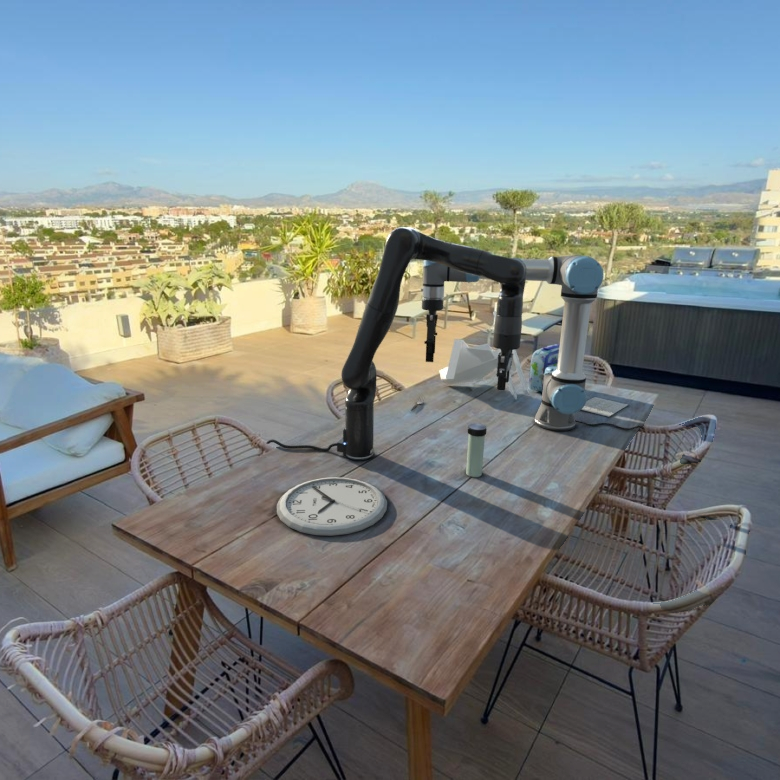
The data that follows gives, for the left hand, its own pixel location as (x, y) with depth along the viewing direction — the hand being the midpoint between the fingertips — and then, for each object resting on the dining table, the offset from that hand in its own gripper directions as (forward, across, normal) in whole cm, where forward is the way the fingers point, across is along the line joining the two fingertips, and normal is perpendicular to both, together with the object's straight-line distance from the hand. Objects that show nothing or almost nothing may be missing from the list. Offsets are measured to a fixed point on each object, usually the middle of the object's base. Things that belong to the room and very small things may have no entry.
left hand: (502, 385), depth 152 cm
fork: (+29, -54, -41) cm, 74 cm away
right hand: (+1, -31, -30) cm, 43 cm away
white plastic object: (+29, -84, -19) cm, 91 cm away
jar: (+29, 0, -6) cm, 30 cm away
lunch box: (+29, -102, +12) cm, 107 cm away
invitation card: (+29, -84, +34) cm, 95 cm away
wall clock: (+29, +33, -40) cm, 59 cm away
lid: (+14, 0, -6) cm, 15 cm away
